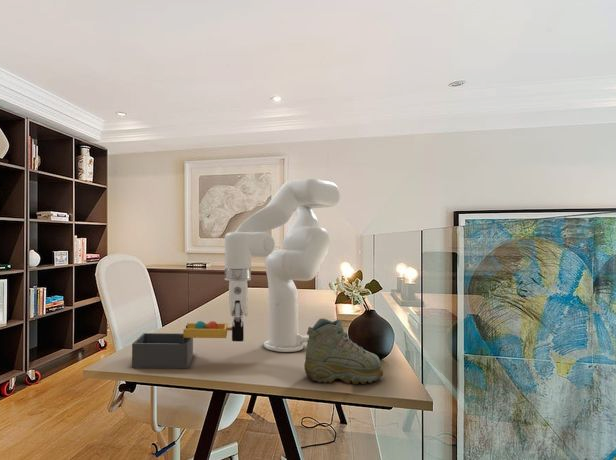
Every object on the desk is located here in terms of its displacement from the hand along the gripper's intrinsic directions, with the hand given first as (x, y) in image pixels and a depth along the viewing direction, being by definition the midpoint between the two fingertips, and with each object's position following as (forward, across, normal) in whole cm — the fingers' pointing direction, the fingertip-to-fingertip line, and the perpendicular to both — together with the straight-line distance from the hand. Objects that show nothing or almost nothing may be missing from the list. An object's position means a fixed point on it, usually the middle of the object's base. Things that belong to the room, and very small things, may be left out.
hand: (237, 337), depth 110 cm
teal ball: (-3, 0, +11) cm, 11 cm away
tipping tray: (-1, 0, +7) cm, 7 cm away
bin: (+7, 0, +21) cm, 22 cm away
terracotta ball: (-3, 0, +7) cm, 8 cm away
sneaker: (+7, -12, -27) cm, 30 cm away
